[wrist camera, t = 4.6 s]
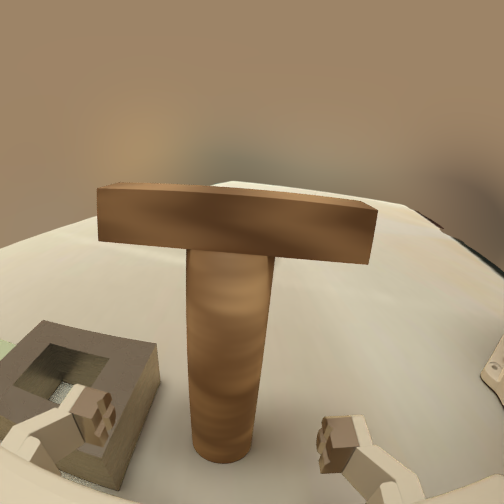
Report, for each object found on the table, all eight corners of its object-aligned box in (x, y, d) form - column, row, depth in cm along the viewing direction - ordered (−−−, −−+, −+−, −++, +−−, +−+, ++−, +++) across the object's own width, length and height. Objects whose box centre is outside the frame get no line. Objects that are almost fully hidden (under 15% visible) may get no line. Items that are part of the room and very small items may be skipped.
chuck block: (160, 381, 23) (156, 343, 22) (118, 490, 13) (101, 458, 12) (52, 355, 24) (43, 320, 22) (-10, 433, 13) (-33, 395, 12)
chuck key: (305, 425, 20) (356, 198, 15) (310, 467, 16) (384, 214, 11) (145, 408, 20) (125, 180, 15) (130, 447, 16) (87, 190, 11)
